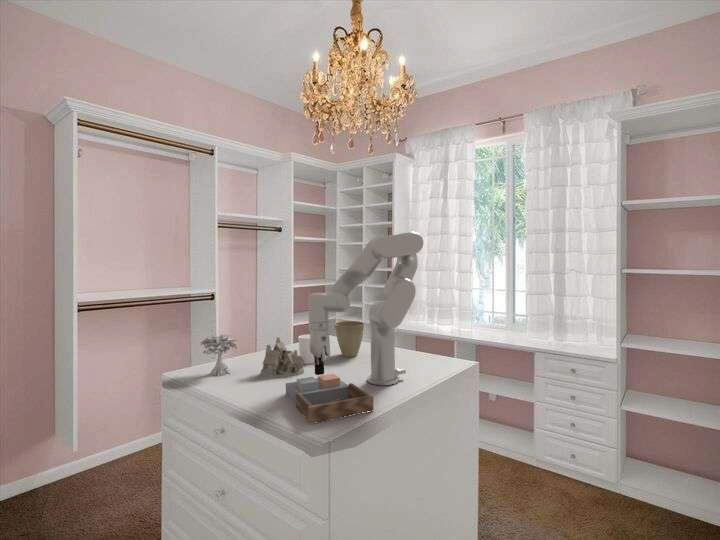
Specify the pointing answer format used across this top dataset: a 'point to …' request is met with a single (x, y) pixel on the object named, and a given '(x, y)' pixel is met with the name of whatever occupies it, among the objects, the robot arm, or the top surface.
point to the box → (335, 406)
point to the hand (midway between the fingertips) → (319, 374)
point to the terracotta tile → (329, 380)
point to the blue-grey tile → (307, 383)
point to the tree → (219, 351)
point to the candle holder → (305, 349)
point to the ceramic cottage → (281, 362)
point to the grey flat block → (319, 392)
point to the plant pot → (349, 337)
